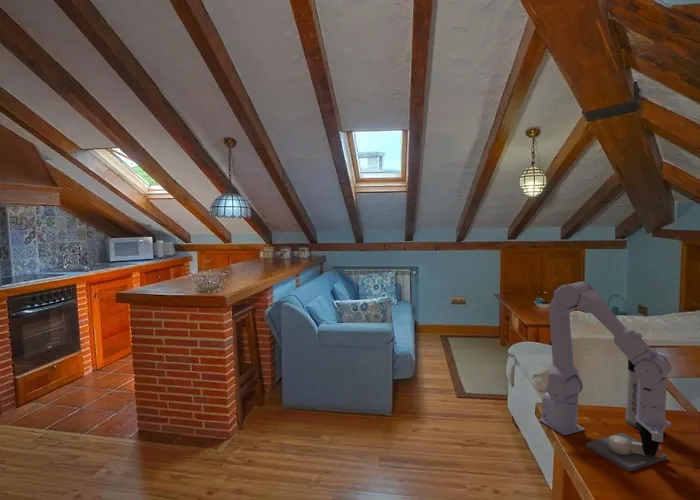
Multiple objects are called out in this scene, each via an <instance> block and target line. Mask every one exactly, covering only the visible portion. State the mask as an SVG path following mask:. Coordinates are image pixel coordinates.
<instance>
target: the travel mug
mask: <svg viewBox="0 0 700 500" xmlns="http://www.w3.org/2000/svg"><path fill="white" fill-rule="evenodd" d="M634 367H635V365H634V364H633V363H632V362H631V361H630V360H629V359H627V374H626V376H627V377H626V378H627V379H626V407H625V422H626V423H627V424H629V426H632V427H634V428H637V426H636V424H635V423H636V422H637V421H636V415H637V400H638V380H639V378H638V376H637V375H636V373H635V370H634ZM637 429H638V428H637Z"/></svg>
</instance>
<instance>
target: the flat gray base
mask: <svg viewBox="0 0 700 500" xmlns="http://www.w3.org/2000/svg"><path fill="white" fill-rule="evenodd" d="M610 436H621V437H624V438H627V439H628V440H630V441H632V442H638V443H642V442H641V441H640V440H637V439H635V438H633V437H631V436H629V435H628V434H626V433H623V432H620V433H616V434H612V435H609V436H606V437H602V438H599V439H596V440H591V441H588V442H585V448H588V449H589V450H591V451H593V452H594V453H596V454H598V455H599V456H601V457H602V458H604V459H606V460H607V461H609V462H611V463H612V464H615V465H616V466H617V467H619V468H621V469H623V470H625V471H626V472H628V473H630V472H633V471H635V470H640V469H642V468H644V467H648V466H650V465H654V464H656V463H660V462H663V461H666V460H668V455H667V454H665V453H662V458H657V457H653V456H647V455H641V454H636V453H631V454H630V455H620V454H617V453H615V452H613V451H611V450H610V449H609V437H610Z"/></svg>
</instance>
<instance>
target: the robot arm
mask: <svg viewBox="0 0 700 500" xmlns="http://www.w3.org/2000/svg"><path fill="white" fill-rule="evenodd" d="M575 310H578V311H583V312H589V313H591V314H592V315H593V316H594V317H595V318H596V319H597V320H598V321H599V322H600V323H601V324H602V325H603V327H605V328H606V329H607V330H608V331H609V332H610V333H611V334H612V335H613V343H614V344H615V345H616V346H617V347H618V350H620V351H621V353H623V354H624V355H625V357H626V358H628V359H629V360H630V361H631V362H632V363H633V364H634V365H635V367H634V370H635V373H636V375H637V376H638V378H639V380H638V400H637V415H636V421H637V422H636V423H635V424H636V426H637V430H638V432H639V435H640V442H641V443H642V447H643V451H644V454H645V455H648V456H653V457H654V456H655V455H656V452H657V449H658V446H660V444H661V443H664V439H665V438H666V436H667V435H666V432H665V430H666V428H667V427H668V428H671V427H672V424H671V422H670V421H669V420H666V405H667V376H668V375H669V374H670V373H671V372H672V365H671V362H670V361H669V360H668V358H667V357H666V356H665V355H663V354H661V353H658V352H657V351H656V350H655V349H652V348H651V347H650V346H649V345H648V344H647V342H646V341H645V340H644V339H643V334H641V332H636V331H635V330H634V329H629V328H626V327H625V326H624V324H623V323H622V322H621V321H620V319H619V318H618V317H617V316H616V315H615V314H614V312H613V311H612V309H610V308H609V306H608V305H607V304H606V303H605V302H604V300H603V299H602V298H601V296H600V293H599V292H598V290H596V289H594V287H593V286H592V285H591V284H590V283H588V282H587V281H583V280H582V281H576V282H574V283H568V284H562V285H560V286H558V287H557V288H556V289H555V290H553V297H552V299H551V301H550V303H549V305H548V317H549V329H550V330H549V331H550V342H551V343H550V344H551V356H552V357H551V358H552V367H551V369H550V371H549V372H548V374H547V376H548V378H547V379H548V380H547V383H546V386H545V388H546V393H545V394H543V397H542V399H541V418H539V421H540V422H541V423H543V424H544V425H546V426H548V427H550V428H551V429H552V430H555V431H556V432H558V433H559V434H561V435H563V436H568V435H571V434H575V433H579V432H583V431H585V427H583V426H581V425H579V424H578V418H579V417H578V413H579V411H578V410H579V408H578V407H579V394H580V393H582V391H583V388H584V385H583V382H582V379H581V377H580V375H579V374H580V373H579V370H578V369H577V368H576V367H575V366H574V355H573V354H574V353H573V342H572V329H571V317H570V314H571V313H572V312H573V311H575ZM628 359H627V360H628Z"/></svg>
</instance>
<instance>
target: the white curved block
mask: <svg viewBox="0 0 700 500" xmlns="http://www.w3.org/2000/svg"><path fill="white" fill-rule="evenodd" d="M609 436H610V437H609V449H610V450H611V451H613V452H615V453H617V454H620V455H630V454H631V453H636V454H641V455H645V454H644V451H643V447H642V442H641V443H638V442H632V441H630V440H628V439H627V438H624V437H621V436H612V435H609ZM663 451H664V449H663V448H662V446H661V445H659V446H658V449H657V452H656V455H655V456H654V457H657V458H662V453H663ZM663 454H664V453H663ZM647 456H648V455H647Z"/></svg>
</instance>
